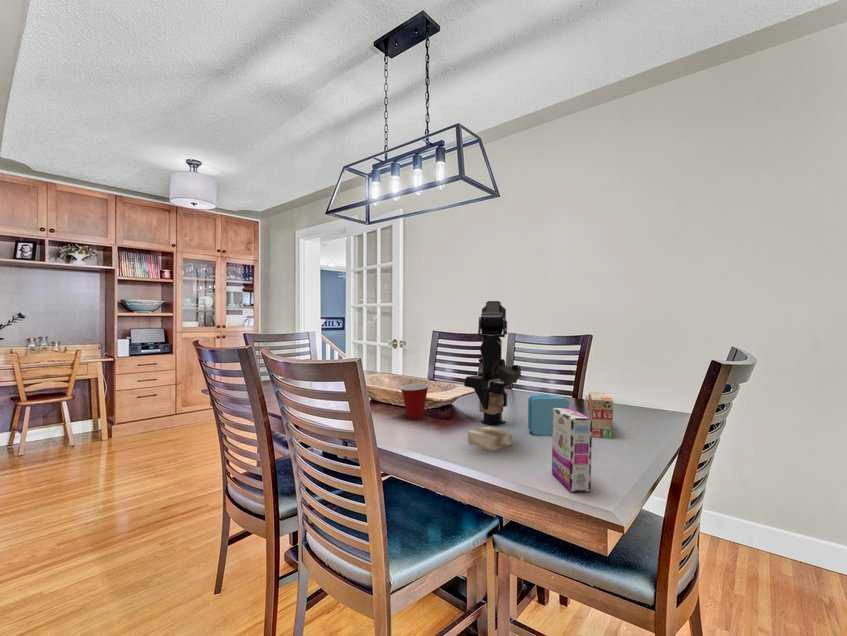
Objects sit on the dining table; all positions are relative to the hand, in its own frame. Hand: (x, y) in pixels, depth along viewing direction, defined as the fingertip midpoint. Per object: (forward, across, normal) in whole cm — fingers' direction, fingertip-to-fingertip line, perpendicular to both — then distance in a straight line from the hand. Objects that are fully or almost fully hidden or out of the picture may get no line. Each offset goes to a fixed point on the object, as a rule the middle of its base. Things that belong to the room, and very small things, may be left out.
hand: (491, 408), depth 125 cm
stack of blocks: (+11, +40, -15) cm, 44 cm away
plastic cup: (+11, +4, +38) cm, 40 cm away
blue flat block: (+11, +23, -6) cm, 26 cm away
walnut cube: (+1, 0, 0) cm, 1 cm away
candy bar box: (+11, -9, -30) cm, 33 cm away
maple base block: (+11, 0, 0) cm, 11 cm away
